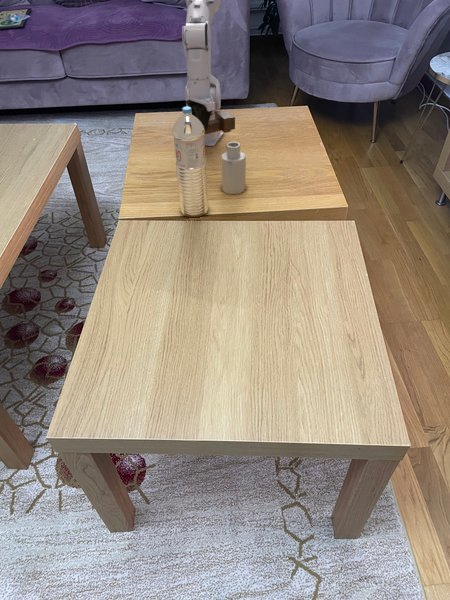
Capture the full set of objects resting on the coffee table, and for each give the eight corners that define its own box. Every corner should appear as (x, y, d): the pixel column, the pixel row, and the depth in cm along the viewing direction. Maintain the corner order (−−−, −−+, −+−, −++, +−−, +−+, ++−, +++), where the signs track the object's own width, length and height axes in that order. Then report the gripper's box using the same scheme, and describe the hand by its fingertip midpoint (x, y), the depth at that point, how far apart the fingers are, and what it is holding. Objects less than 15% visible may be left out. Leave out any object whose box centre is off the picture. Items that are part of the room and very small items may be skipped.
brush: (186, 131, 127) (185, 117, 124) (225, 123, 131) (225, 109, 128) (195, 139, 123) (194, 125, 120) (235, 130, 127) (235, 116, 124)
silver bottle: (226, 181, 121) (225, 137, 112) (247, 184, 119) (248, 140, 111) (219, 192, 117) (217, 148, 108) (241, 195, 115) (241, 151, 107)
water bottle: (204, 220, 108) (198, 115, 90) (177, 217, 109) (166, 113, 91) (211, 204, 112) (206, 102, 95) (184, 202, 113) (175, 100, 96)
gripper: (225, 82, 112) (226, 134, 122) (200, 66, 121) (203, 116, 131) (199, 87, 110) (202, 140, 119) (176, 70, 119) (180, 121, 129)
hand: (201, 128), depth 125 cm, fingers closed on brush, 2 cm apart
